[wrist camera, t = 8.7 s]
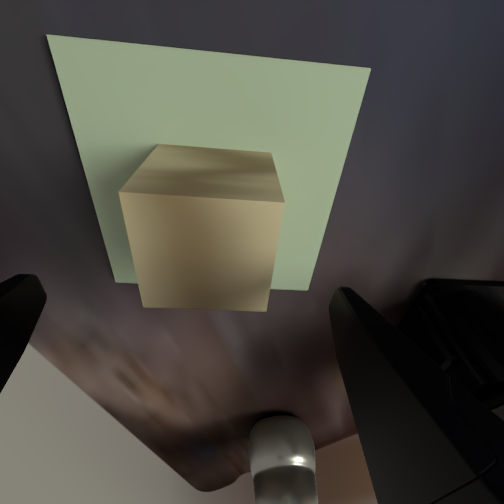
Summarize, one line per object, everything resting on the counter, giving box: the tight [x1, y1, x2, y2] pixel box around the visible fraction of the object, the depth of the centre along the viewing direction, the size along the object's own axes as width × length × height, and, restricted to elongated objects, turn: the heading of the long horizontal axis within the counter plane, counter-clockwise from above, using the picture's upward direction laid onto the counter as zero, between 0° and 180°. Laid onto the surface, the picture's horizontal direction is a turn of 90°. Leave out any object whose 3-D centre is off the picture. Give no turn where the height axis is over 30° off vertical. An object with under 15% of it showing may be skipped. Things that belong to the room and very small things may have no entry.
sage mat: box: [47, 35, 371, 290], centre depth 14 cm, size 12×12×1 cm
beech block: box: [119, 144, 285, 312], centre depth 12 cm, size 5×5×5 cm
